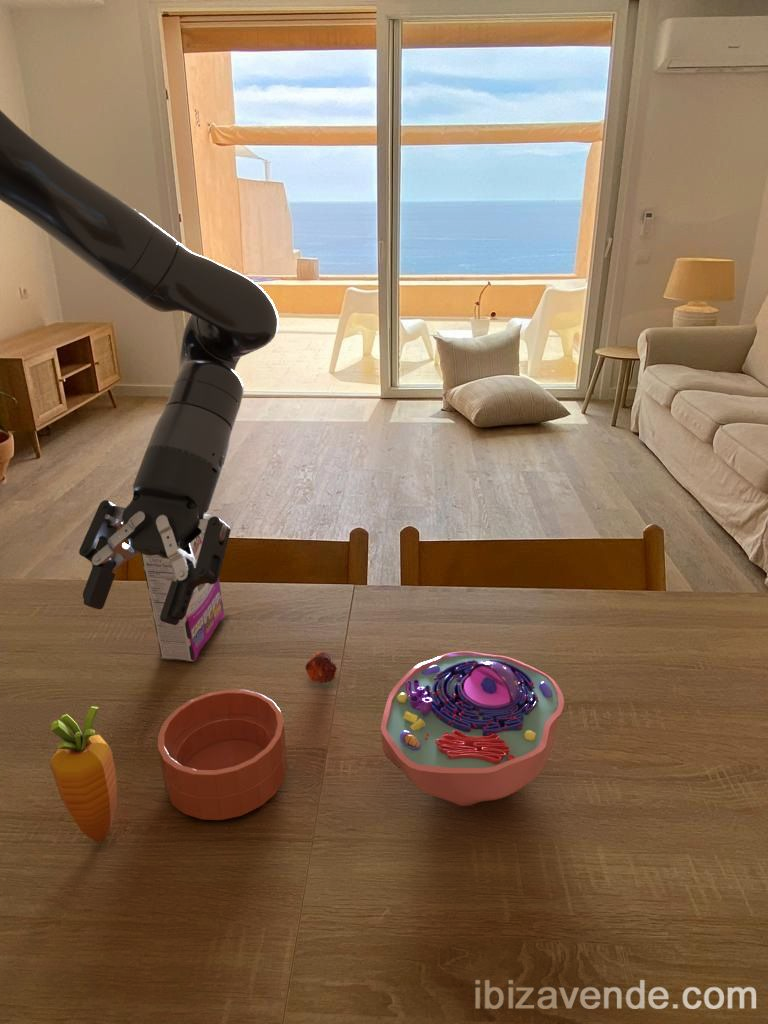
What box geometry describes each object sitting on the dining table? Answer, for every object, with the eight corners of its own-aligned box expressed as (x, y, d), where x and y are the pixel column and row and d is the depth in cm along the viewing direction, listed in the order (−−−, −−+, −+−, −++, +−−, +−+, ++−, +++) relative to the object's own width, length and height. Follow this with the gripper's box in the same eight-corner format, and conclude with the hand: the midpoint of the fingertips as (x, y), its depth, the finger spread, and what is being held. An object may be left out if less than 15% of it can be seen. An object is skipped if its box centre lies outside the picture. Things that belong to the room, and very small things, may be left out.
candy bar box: (192, 614, 101) (177, 511, 94) (225, 617, 100) (212, 513, 93) (157, 660, 90) (138, 548, 84) (194, 664, 90) (177, 551, 83)
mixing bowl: (149, 824, 67) (139, 773, 64) (187, 735, 78) (179, 688, 75) (275, 827, 66) (270, 776, 63) (295, 737, 77) (291, 690, 75)
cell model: (343, 769, 73) (339, 681, 68) (475, 689, 84) (479, 609, 80) (459, 878, 61) (464, 781, 56) (593, 767, 73) (606, 679, 68)
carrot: (128, 812, 68) (101, 688, 62) (130, 852, 64) (101, 724, 58) (73, 827, 66) (40, 702, 60) (72, 870, 62) (36, 740, 56)
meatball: (303, 686, 85) (301, 659, 84) (318, 669, 88) (316, 643, 87) (328, 694, 84) (327, 666, 82) (343, 676, 87) (341, 650, 85)
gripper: (104, 435, 69) (41, 592, 64) (230, 449, 64) (174, 619, 59) (145, 468, 76) (92, 612, 70) (262, 482, 71) (214, 637, 66)
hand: (129, 615), depth 65 cm, fingers open, 8 cm apart
